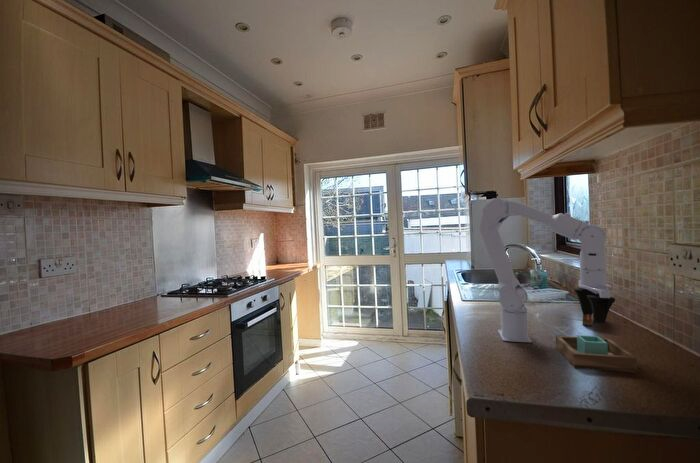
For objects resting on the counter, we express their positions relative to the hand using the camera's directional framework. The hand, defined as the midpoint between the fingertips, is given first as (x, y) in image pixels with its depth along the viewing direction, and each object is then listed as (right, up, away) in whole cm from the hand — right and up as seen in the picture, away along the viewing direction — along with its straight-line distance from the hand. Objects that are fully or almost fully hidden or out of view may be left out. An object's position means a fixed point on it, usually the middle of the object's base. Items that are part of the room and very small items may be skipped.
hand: (593, 318), depth 89 cm
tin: (+17, -8, +25) cm, 31 cm away
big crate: (-3, -10, -4) cm, 11 cm away
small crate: (-3, -9, -4) cm, 10 cm away
